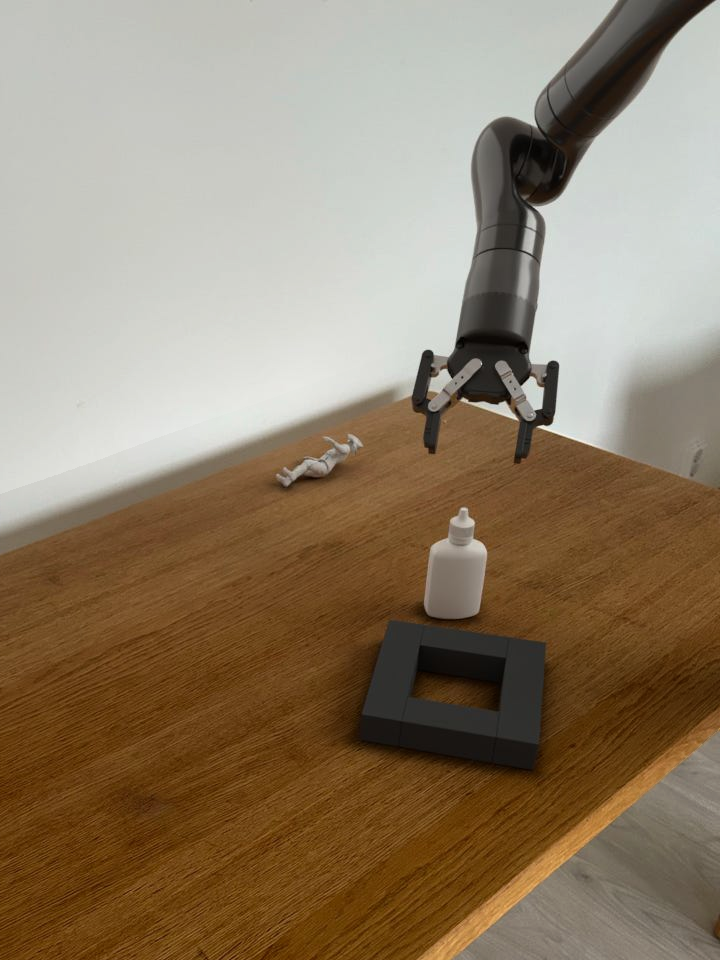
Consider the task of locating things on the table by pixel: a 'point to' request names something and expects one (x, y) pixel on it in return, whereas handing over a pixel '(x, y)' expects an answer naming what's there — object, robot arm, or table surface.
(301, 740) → the table surface
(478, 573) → the eye dropper bottle
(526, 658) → the black rectangular frame
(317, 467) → the soldier figure
